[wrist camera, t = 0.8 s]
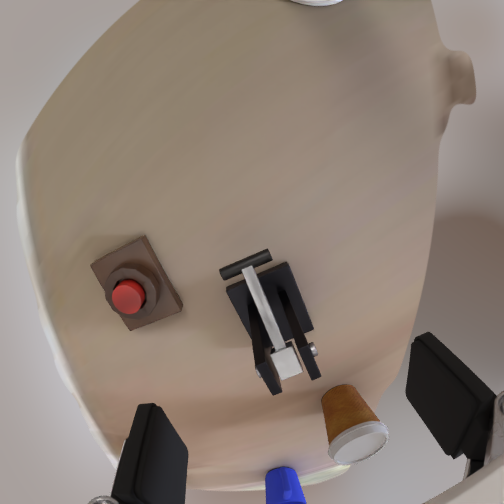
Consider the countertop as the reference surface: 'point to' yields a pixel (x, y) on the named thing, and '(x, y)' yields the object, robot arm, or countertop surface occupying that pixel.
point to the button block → (143, 272)
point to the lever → (266, 313)
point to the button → (128, 296)
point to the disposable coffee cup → (351, 426)
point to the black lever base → (286, 314)
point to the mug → (283, 487)
